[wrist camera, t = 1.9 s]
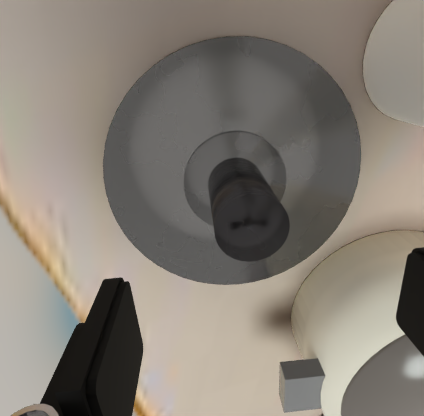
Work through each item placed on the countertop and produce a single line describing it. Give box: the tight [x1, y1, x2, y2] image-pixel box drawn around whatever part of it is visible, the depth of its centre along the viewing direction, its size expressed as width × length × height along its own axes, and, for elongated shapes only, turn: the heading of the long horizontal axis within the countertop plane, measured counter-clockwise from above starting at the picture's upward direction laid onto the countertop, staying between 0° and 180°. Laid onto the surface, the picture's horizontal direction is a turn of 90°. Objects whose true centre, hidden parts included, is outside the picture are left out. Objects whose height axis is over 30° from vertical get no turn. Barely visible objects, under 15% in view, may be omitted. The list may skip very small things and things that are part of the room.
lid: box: [103, 37, 361, 285], centre depth 17 cm, size 15×15×7 cm
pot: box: [279, 230, 424, 416], centre depth 21 cm, size 14×18×7 cm
